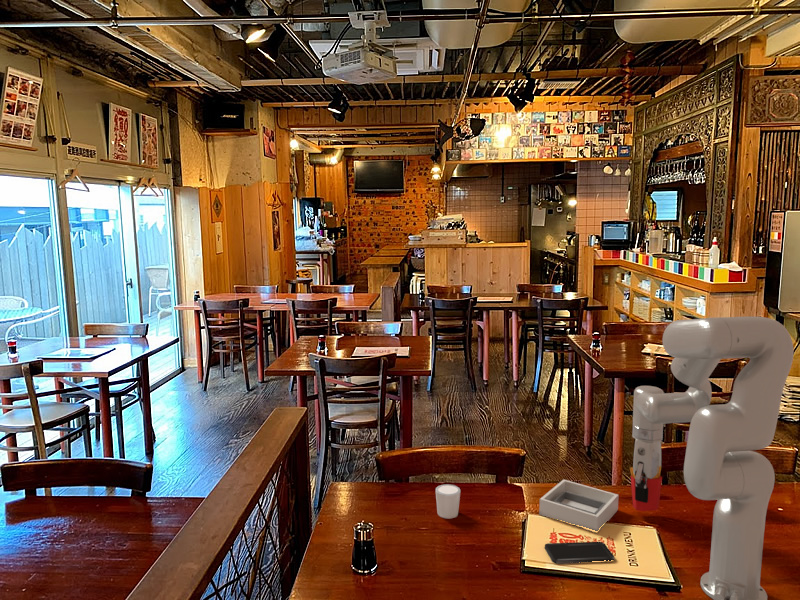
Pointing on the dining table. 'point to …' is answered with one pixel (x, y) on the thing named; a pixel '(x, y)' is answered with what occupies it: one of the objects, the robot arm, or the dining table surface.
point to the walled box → (579, 504)
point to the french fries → (653, 492)
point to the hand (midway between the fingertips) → (645, 496)
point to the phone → (578, 552)
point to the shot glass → (447, 500)
